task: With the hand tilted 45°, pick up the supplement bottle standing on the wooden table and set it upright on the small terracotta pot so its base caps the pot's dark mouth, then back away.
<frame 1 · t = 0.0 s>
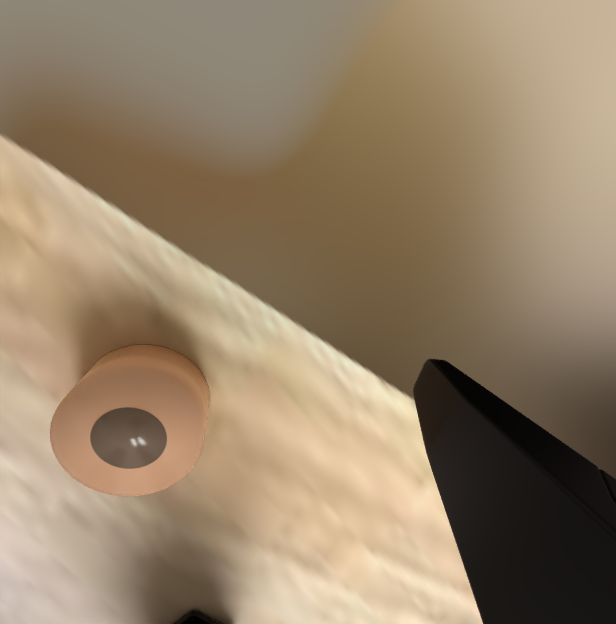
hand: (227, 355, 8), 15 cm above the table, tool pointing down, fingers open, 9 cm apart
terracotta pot: (147, 400, 25), on the table
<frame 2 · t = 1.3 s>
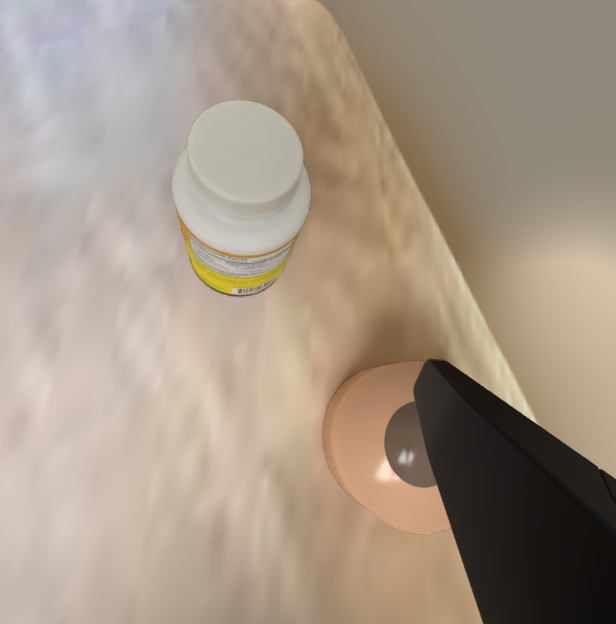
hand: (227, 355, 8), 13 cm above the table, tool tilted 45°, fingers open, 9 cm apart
supplement bottle: (237, 257, 22), on the table
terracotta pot: (388, 434, 22), on the table
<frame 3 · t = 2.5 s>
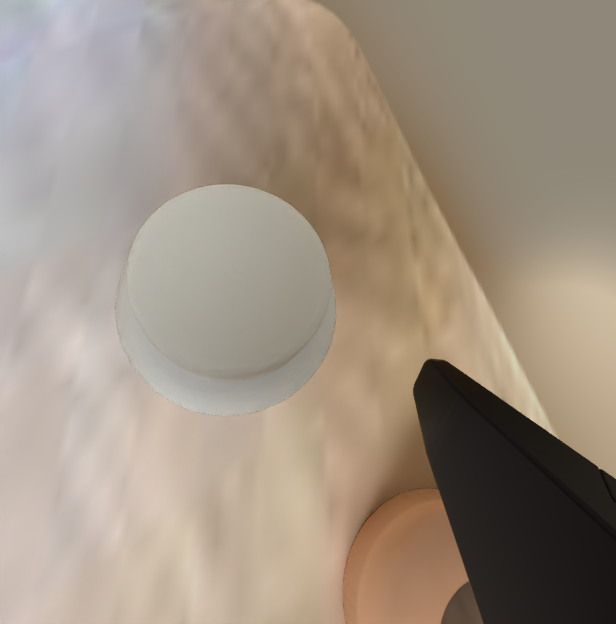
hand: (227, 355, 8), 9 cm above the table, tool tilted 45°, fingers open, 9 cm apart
supplement bottle: (228, 345, 17), on the table
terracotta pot: (429, 586, 16), on the table
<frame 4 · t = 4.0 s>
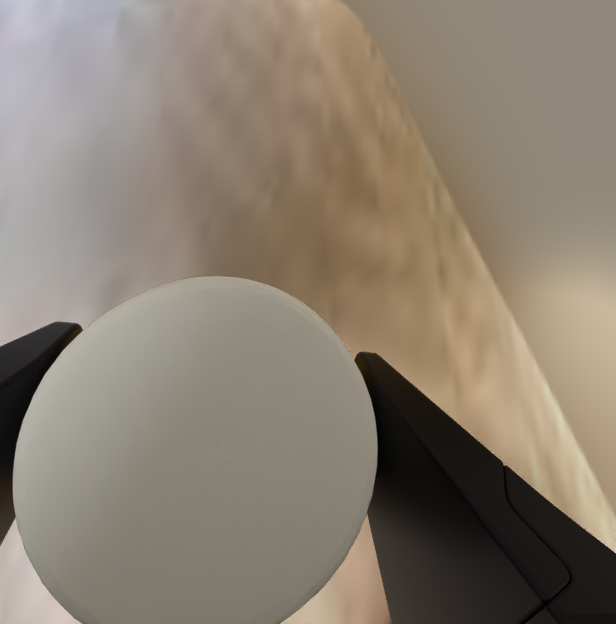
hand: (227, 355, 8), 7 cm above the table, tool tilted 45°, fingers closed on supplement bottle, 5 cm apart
supplement bottle: (221, 410, 14), on the table, touching gripper
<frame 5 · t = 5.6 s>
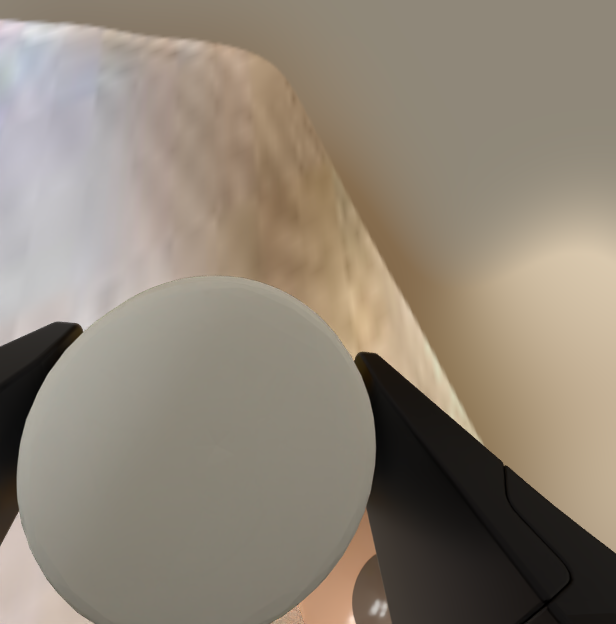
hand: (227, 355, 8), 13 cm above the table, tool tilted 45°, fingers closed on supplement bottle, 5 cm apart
supplement bottle: (219, 408, 14), point 6 cm above the table, touching gripper
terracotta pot: (362, 558, 20), on the table
when the fingers open (12 cm above the table, at t = 7.4 s): supplement bottle stays where it is, resting on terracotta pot.
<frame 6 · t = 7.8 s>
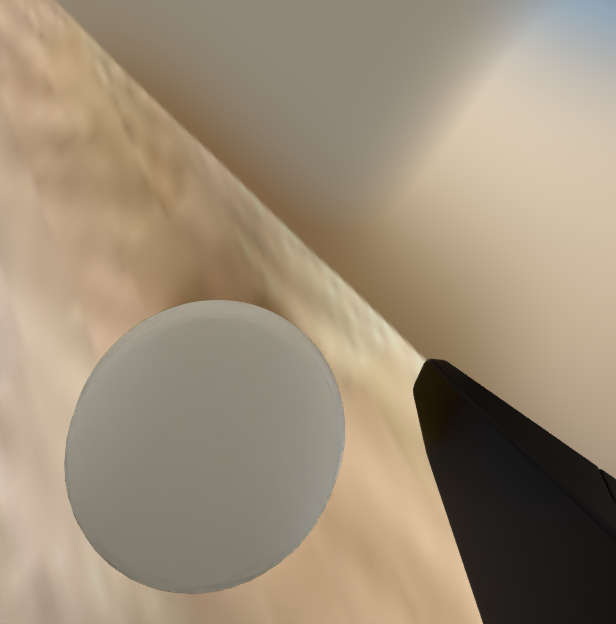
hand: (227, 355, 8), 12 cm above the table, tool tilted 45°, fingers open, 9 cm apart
supplement bottle: (221, 412, 15), point 4 cm above the table, touching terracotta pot
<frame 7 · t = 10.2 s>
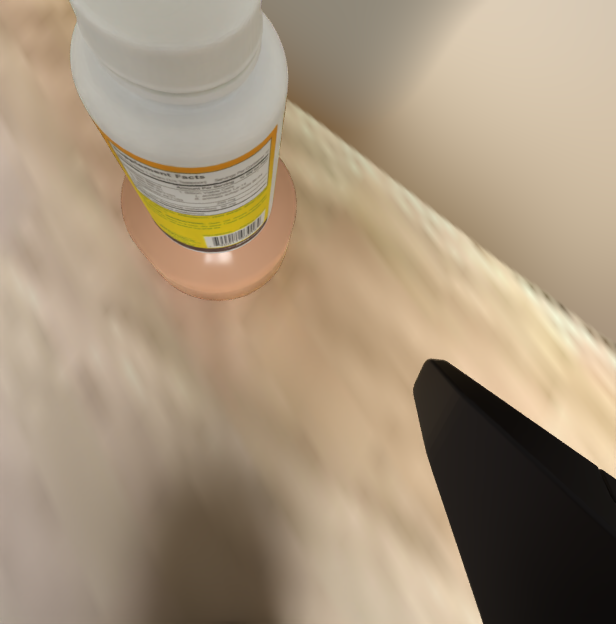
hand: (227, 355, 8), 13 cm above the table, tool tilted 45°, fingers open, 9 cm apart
supplement bottle: (212, 203, 18), point 4 cm above the table, touching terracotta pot
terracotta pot: (218, 232, 21), on the table
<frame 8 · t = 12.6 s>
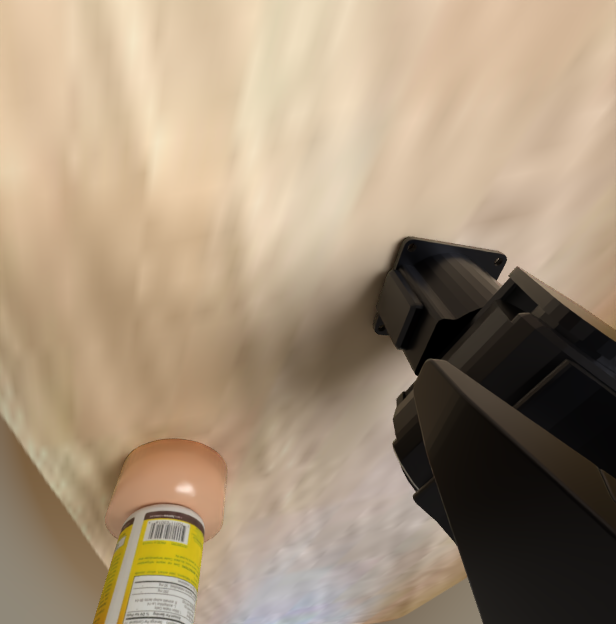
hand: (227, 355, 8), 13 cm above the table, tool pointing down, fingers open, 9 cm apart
supplement bottle: (167, 519, 27), point 4 cm above the table, touching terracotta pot
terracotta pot: (176, 472, 30), on the table
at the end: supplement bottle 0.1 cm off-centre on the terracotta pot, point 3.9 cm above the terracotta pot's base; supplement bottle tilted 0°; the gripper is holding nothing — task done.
